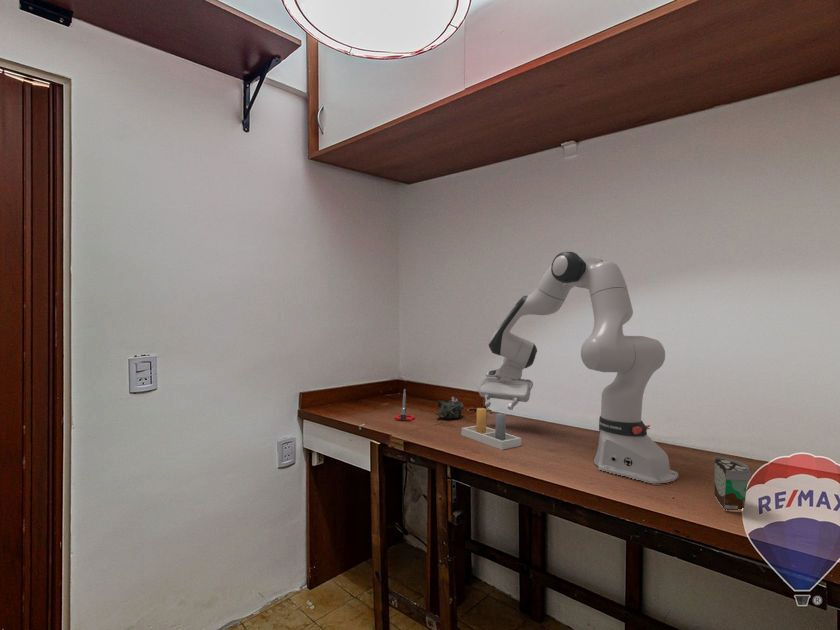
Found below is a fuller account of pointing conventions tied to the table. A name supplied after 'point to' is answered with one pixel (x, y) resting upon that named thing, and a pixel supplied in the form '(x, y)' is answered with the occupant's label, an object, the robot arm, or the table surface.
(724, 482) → the food container
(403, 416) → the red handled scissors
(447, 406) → the mineral specimen
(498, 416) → the grey rounded peg
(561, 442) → the table surface
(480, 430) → the domed orange pawn
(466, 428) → the white divided tray
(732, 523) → the table surface
